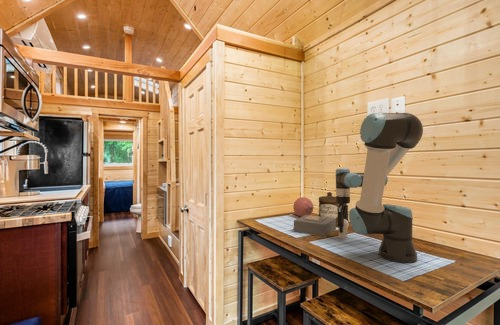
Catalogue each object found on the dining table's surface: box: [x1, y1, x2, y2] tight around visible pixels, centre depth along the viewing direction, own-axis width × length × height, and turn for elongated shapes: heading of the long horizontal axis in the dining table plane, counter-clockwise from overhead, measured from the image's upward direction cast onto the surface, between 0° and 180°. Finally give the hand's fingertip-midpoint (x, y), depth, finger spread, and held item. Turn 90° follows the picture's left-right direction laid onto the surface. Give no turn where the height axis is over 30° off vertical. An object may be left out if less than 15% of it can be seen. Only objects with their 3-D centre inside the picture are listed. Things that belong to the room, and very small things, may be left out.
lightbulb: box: [337, 219, 350, 239], centre depth 144 cm, size 6×6×11 cm
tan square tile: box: [304, 214, 326, 222], centre depth 161 cm, size 10×10×3 cm
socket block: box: [293, 214, 337, 238], centre depth 161 cm, size 20×20×7 cm
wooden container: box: [318, 191, 339, 227], centre depth 179 cm, size 15×15×22 cm
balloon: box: [292, 196, 314, 218], centre depth 198 cm, size 15×20×15 cm
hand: (343, 236), depth 144 cm, fingers closed on lightbulb, 6 cm apart
